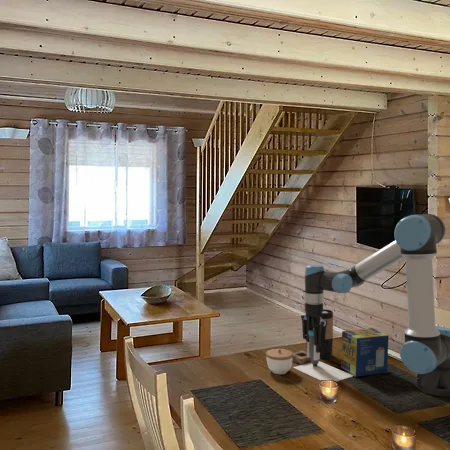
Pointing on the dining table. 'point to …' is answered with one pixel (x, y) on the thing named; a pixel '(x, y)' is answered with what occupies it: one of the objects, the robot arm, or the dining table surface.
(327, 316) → the travel mug
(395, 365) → the dining table surface
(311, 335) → the marker
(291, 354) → the lidded jar
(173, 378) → the dining table surface
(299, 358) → the pen holder
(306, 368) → the paper
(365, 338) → the protein box
